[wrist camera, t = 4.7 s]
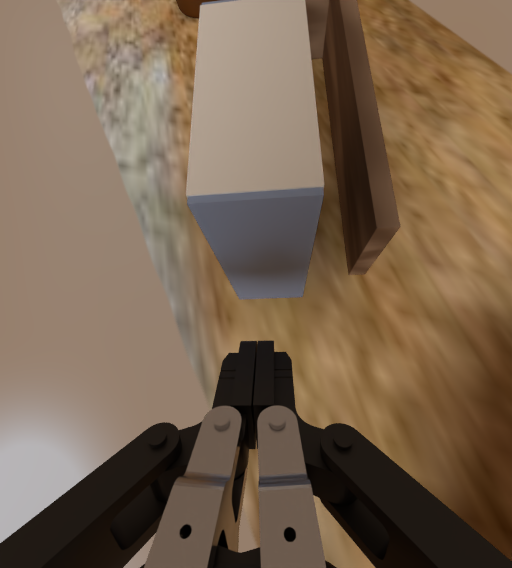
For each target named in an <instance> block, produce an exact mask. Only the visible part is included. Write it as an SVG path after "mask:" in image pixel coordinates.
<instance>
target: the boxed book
mask: <svg viewBox="0 0 512 568" xmlns="http://www.w3.org/2000/svg"><path fill="white" fill-rule="evenodd" d="M323 190H324V176H323V166H322V157H321V147H320V138H319V128H318V118H317V109H316V99H315V90H314V80H313V70H312V61H311V51H310V42H309V32H308V22H307V13H306V3H305V0H220V1H212V2H204V3H202V5H200V14H199V28H198V41H197V54H196V68H195V81H194V95H193V108H192V121H191V135H190V148H189V161H188V175H187V188H186V196H187V198H188V200H187V205H188V206H189V208H190V210H191V212H192V214H193V215H194V217H195V219H196V221H197V223H198V225H199V226H200V228H201V230H202V232H203V234H204V235H205V237H206V239H207V241H208V243H209V245H210V246H211V248H212V250H213V252H214V254H215V255H216V257H217V259H218V261H219V263H220V265H221V266H222V268H223V270H224V272H225V274H226V276H227V277H228V279H229V281H230V283H231V285H232V286H233V288H234V290H235V292H236V294H237V296H238V297H239V299H263V298H290V297H303V292H304V287H305V282H306V278H307V273H308V268H309V263H310V258H311V254H312V249H313V244H314V239H315V235H316V230H317V225H318V220H319V216H320V211H321V206H322V201H323V196H324V192H323Z"/></svg>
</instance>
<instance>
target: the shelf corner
mask: <svg viewBox="0 0 512 568" xmlns="http://www.w3.org/2000/svg"><path fill="white" fill-rule="evenodd" d="M305 3H306V13H307V22H308V32H309V42H310V51H311V59H316V58H322V59H323V67H324V75H325V83H326V92H327V100H328V108H329V116H330V125H331V133H332V141H333V149H334V158H335V166H336V174H337V182H338V191H339V199H340V207H341V215H342V223H343V232H344V240H345V248H346V256H347V265H348V273H349V275H358V274H365V273H366V272H367V271H368V269H369V268H370V267H371V265H372V264H373V263H374V261H375V260H376V259H377V257H378V256H379V255H380V253H381V252H382V251H383V249H384V248H385V247H386V245H387V244H388V243H389V241H390V240H391V239H392V237H393V236H394V235H395V233H396V232H397V231H398V229H399V228H400V222H399V217H398V212H397V206H396V201H395V196H394V191H393V186H392V180H391V175H390V170H389V165H388V160H387V154H386V149H385V144H384V139H383V134H382V128H381V123H380V118H379V113H378V108H377V102H376V97H375V92H374V87H373V82H372V76H371V71H370V66H369V61H368V56H367V50H366V45H365V40H364V35H363V30H362V24H361V19H360V14H359V9H358V4H357V0H305Z"/></svg>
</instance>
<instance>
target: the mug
mask: <svg viewBox="0 0 512 568" xmlns="http://www.w3.org/2000/svg"><path fill="white" fill-rule="evenodd" d="M176 1H177V4H178V7H179V9H180V10H181V11H182V12H183V13H184V14H185V15H187V16H189V17H193V18H199V14H200V5H202V3H204V2H212V1H220V0H176Z"/></svg>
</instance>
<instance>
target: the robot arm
mask: <svg viewBox="0 0 512 568" xmlns="http://www.w3.org/2000/svg"><path fill="white" fill-rule="evenodd" d="M256 441H257V449H258V459H259V520H260V548H256V549H253V550H250V551H247V552H242V553H238V542H239V538H238V537H239V525H240V517H241V511H242V505H243V498H244V491H245V484H246V478H247V470H248V468H247V465H248V457H249V449H256ZM313 495H314V496H317V497H319V498H320V500H321V502H322V503H323V505H324V506H325V507H326V509H327V510H328V511H329V512H330V513H331V515H332V516H333V517H334V518H335V519H336V521H337V522H338V523H339V524H340V525H341V527H342V528H343V529H344V530H345V531H346V533H347V534H348V535H349V536H350V537H351V539H352V540H353V541H354V542H355V543H356V545H357V546H358V547H359V548H360V549H361V551H362V552H363V553H364V554H365V555H366V557H367V558H368V559H369V560H370V561H371V563H372V564H373V565H374V566H375V567H376V568H512V561H510V560H509V559H508V558H507V557H506V556H505V555H503V554H502V553H501V552H500V551H499V550H497V549H496V548H495V547H494V546H493V545H492V544H490V543H489V542H488V541H487V540H486V539H484V538H483V537H482V536H481V535H480V534H479V533H477V532H476V531H475V530H474V529H473V528H472V527H470V526H469V525H468V524H467V523H466V522H464V521H463V520H462V519H461V518H460V517H459V516H457V515H456V514H455V513H454V512H453V511H451V510H450V509H449V508H448V507H447V506H446V505H444V504H443V503H442V502H441V501H440V500H438V499H437V498H436V497H435V496H434V495H433V494H431V493H430V492H429V491H428V490H427V489H425V488H424V487H423V486H422V485H421V484H420V483H418V482H417V481H416V480H415V479H414V478H412V477H411V476H410V475H409V474H408V473H407V472H405V471H404V470H403V469H402V468H401V467H399V466H398V465H397V464H396V463H395V462H394V461H392V460H391V459H390V458H389V457H388V456H386V455H385V454H384V453H383V452H382V451H381V450H379V449H378V448H377V447H376V446H375V445H373V444H372V443H371V442H370V441H369V440H368V439H366V438H365V437H364V436H363V435H362V434H361V433H359V432H358V431H357V430H356V429H354V428H353V427H351V426H349V425H346V424H341V423H336V424H331V425H329V426H327V427H326V428H325V429H321V428H317V427H314V426H311V425H309V424H307V423H306V422H304V421H303V420H302V419H301V418H300V417H299V416H298V414H297V412H296V408H295V398H294V386H293V374H292V362H291V359H290V357H289V356H288V354H287V353H286V352H274V341H258V344H257V341H241V342H240V348H239V353H229V354H228V355H227V356H226V358H225V359H224V360H223V362H222V367H221V372H220V376H219V380H218V385H217V389H216V393H215V398H214V402H213V407H212V410H210V411H209V412H208V413H207V414H206V415H205V417H204V419H203V421H202V422H200V423H199V424H197V425H195V426H192V427H188V428H185V429H182V430H178V429H177V427H176V426H174V425H173V424H171V423H159V424H156V425H153V426H151V427H150V428H148V429H147V430H146V431H144V432H143V433H142V434H140V435H139V436H138V437H137V438H135V439H134V440H133V441H131V442H130V443H129V444H128V445H126V446H125V447H124V448H123V449H121V450H120V451H119V452H117V453H116V454H115V455H113V456H112V457H111V458H110V459H108V460H107V461H106V462H104V463H103V464H102V465H101V466H99V467H98V468H97V469H95V470H94V471H93V472H92V473H90V474H89V475H88V476H86V477H85V478H84V479H83V480H81V481H80V482H79V483H77V484H76V485H75V486H74V487H72V488H71V489H70V490H68V491H67V492H66V493H65V494H63V495H62V496H61V497H59V498H58V499H57V500H56V501H54V502H53V503H52V504H50V505H49V506H48V507H47V508H45V509H44V510H43V511H41V512H40V513H39V514H38V515H36V516H35V517H34V518H32V519H31V520H30V521H29V522H27V523H26V524H25V525H23V526H22V527H21V528H20V529H18V530H17V531H16V532H14V533H13V534H12V535H11V536H9V537H8V538H7V539H5V540H4V541H3V542H2V543H0V568H123V567H124V566H125V565H126V564H127V563H128V562H129V561H130V560H131V558H132V557H133V556H134V555H135V554H136V553H137V552H138V551H139V550H140V549H141V548H142V547H143V546H144V545H145V544H146V543H147V542H148V540H149V539H150V538H151V537H152V536H153V535H154V534H155V533H156V532H157V533H156V535H155V538H154V541H153V544H152V547H151V549H150V553H149V555H148V558H147V561H146V563H145V564H144V565H143V566H141V567H140V568H336V567H335V566H333V565H332V564H331V563H329V562H327V561H325V558H324V553H323V547H322V542H321V536H320V531H319V525H318V520H317V514H316V509H315V503H314V498H313Z"/></svg>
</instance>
